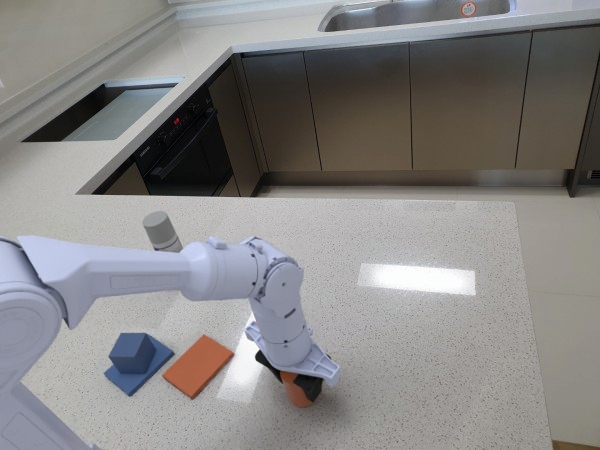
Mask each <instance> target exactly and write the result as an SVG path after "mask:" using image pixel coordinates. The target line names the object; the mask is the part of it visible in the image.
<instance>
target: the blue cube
mask: <svg viewBox="0 0 600 450" xmlns="http://www.w3.org/2000/svg"><path fill="white" fill-rule="evenodd" d="M147 334H148V333H147V332H120V334H119V336H118V337H117V339H116V341H115V342H114V345H113V346H112V349H111V350H110V352H109V354H108V356H107V357H108V359H109V360H110V362H111V363H112V365H113V364H114V366H115V367H116V368H117V370H118V371H119V373H120V374H146V373H147V370H148V368H149V366H150V364H151V361H152V359H153V357H154V355H155V352H156V348H155V347H154V345H153V343H152V342H151V340H150V338H149V337H148V335H147Z"/></svg>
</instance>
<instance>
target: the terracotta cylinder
mask: <svg viewBox="0 0 600 450" xmlns="http://www.w3.org/2000/svg"><path fill="white" fill-rule="evenodd" d="M298 374H299V373H293V372H287V371H282V370H280V375H281V378H282V381H283V384H284V385H283V384H282V385H283V387H284V389H285V390H284V391H285V392H286V396H287V398H288V401H289V402H290V403H291V405H292V406H294V407H297V408H307V407H310V406H311V405H312V404H314V402H311V401H309V400H308V399H307V397H306V395H305V393H304V391H303V390H302V388H301V387H299V386H297V385H296V384H294V383H293V380H294V379H295V378H296V377H297V375H298Z"/></svg>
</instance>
